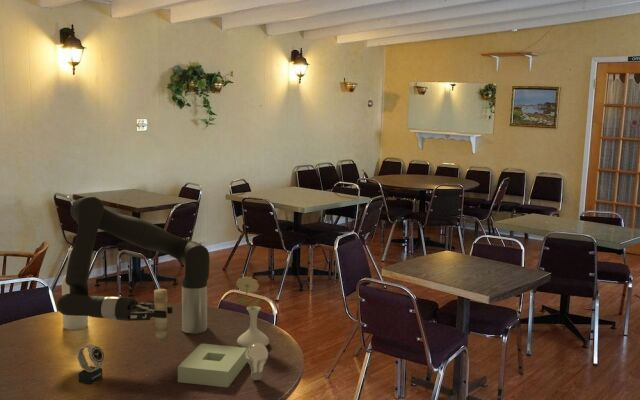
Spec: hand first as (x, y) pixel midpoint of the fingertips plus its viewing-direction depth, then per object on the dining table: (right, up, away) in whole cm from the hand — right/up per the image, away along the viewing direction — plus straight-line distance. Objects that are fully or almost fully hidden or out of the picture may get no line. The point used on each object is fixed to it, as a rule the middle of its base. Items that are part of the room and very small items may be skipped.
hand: (169, 312), depth 208 cm
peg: (-3, -9, +2) cm, 9 cm away
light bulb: (+28, -20, -6) cm, 35 cm away
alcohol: (-44, -12, +37) cm, 59 cm away
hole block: (+14, -19, 0) cm, 24 cm away
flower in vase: (+24, -16, +23) cm, 37 cm away
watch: (-22, -19, -9) cm, 30 cm away
